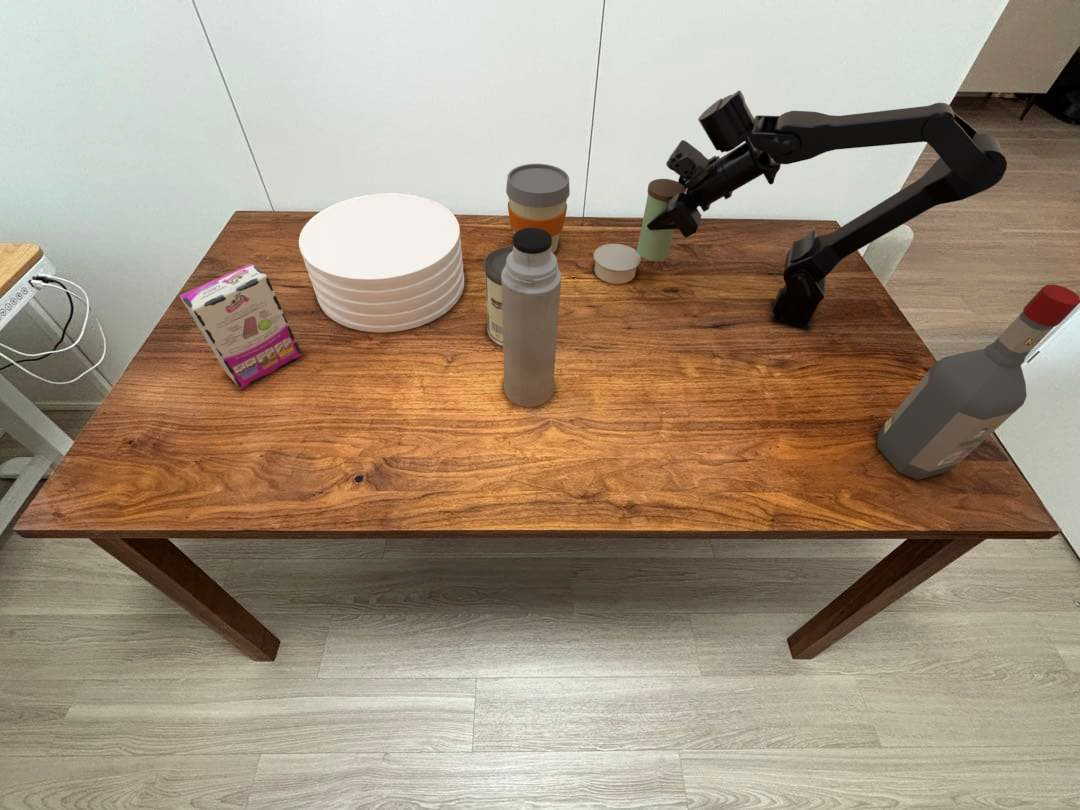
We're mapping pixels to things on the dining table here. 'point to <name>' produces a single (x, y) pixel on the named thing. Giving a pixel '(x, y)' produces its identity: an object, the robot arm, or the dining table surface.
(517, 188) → the reusable coffee cup
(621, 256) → the coffee pod
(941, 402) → the liquor
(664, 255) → the cylinder
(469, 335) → the dining table surface
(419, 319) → the plate stack
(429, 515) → the dining table surface
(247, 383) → the candy bar box
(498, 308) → the coffee can
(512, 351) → the thermos bottle
